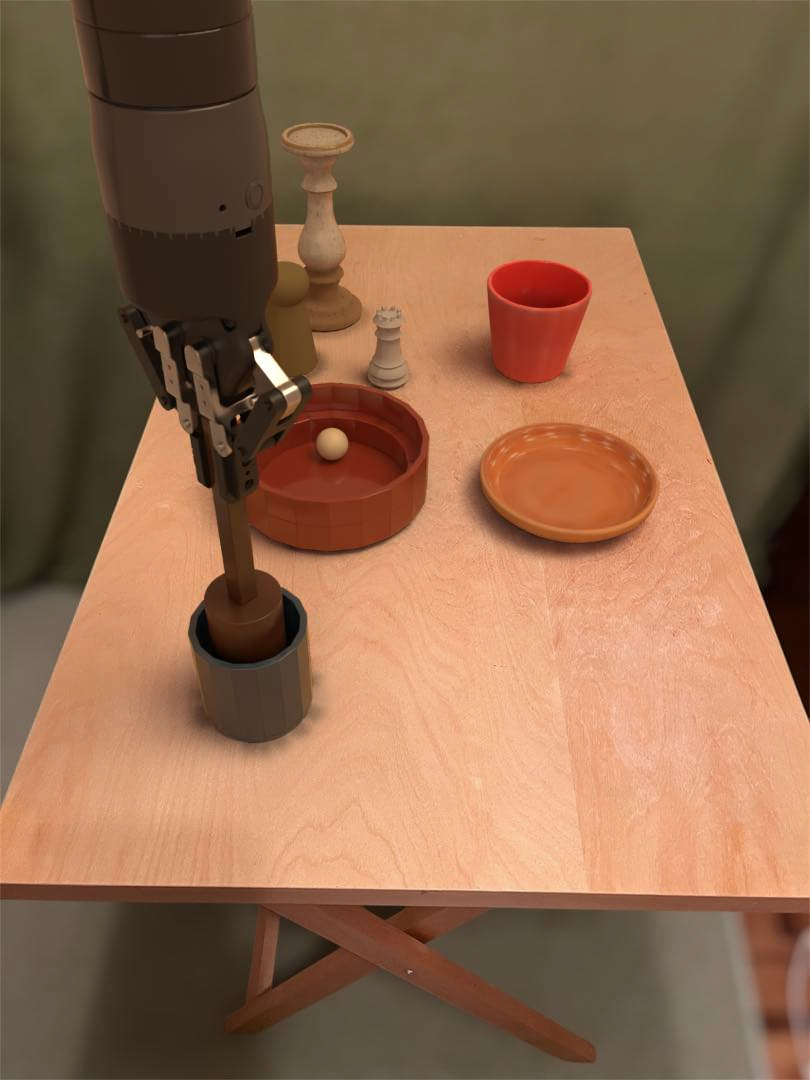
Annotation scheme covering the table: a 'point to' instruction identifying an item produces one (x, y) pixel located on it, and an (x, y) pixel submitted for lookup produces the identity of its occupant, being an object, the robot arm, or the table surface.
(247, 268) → the robot arm
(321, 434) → the dough ball
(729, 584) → the table surface
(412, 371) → the table surface
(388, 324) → the rook chess piece
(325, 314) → the candle holder
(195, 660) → the crock
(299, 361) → the brown peg figure
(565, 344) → the flower pot
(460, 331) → the table surface
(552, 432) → the saucer
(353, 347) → the table surface
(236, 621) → the wooden pestle
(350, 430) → the bowl
